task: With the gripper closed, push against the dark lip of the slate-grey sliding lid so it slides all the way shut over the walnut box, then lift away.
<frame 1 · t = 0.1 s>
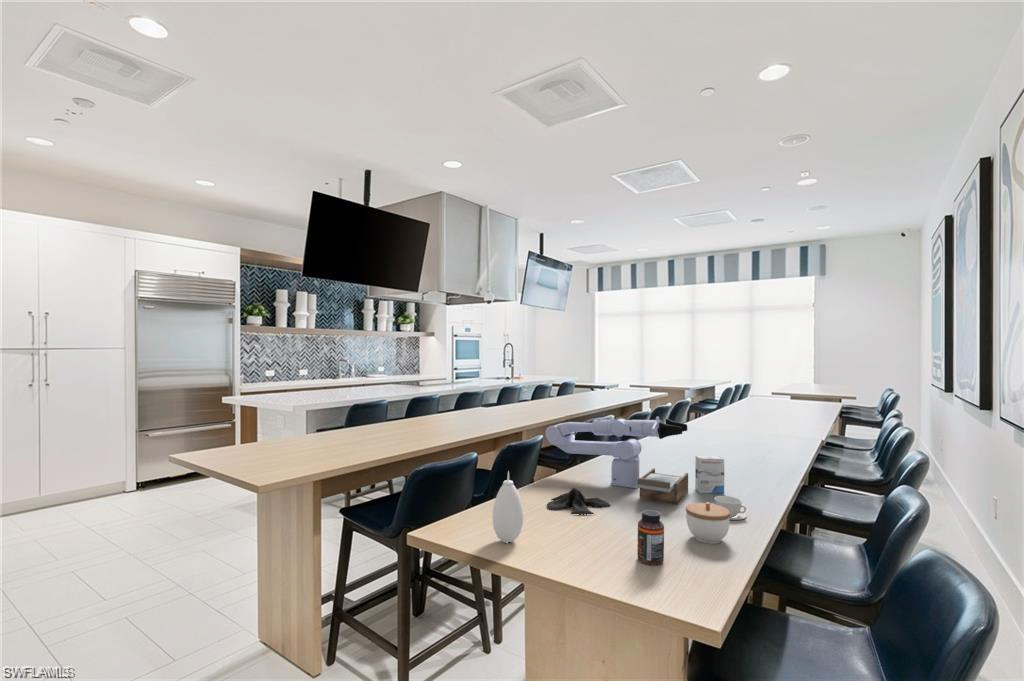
hand: (684, 429, 171), 22 cm above the table, tool horizontal, fingers open, 7 cm apart
lidded jar: (707, 539, 131), on the table
teacup: (728, 516, 150), on the table
cloth: (572, 507, 158), on the table
supplement bottle: (650, 561, 118), on the table
air blower bulb: (507, 542, 128), on the table
walnut box: (664, 495, 168), on the table
ink box: (709, 492, 173), on the table
lid: (659, 479, 163), point 7 cm above the table, slide at 6.0 cm
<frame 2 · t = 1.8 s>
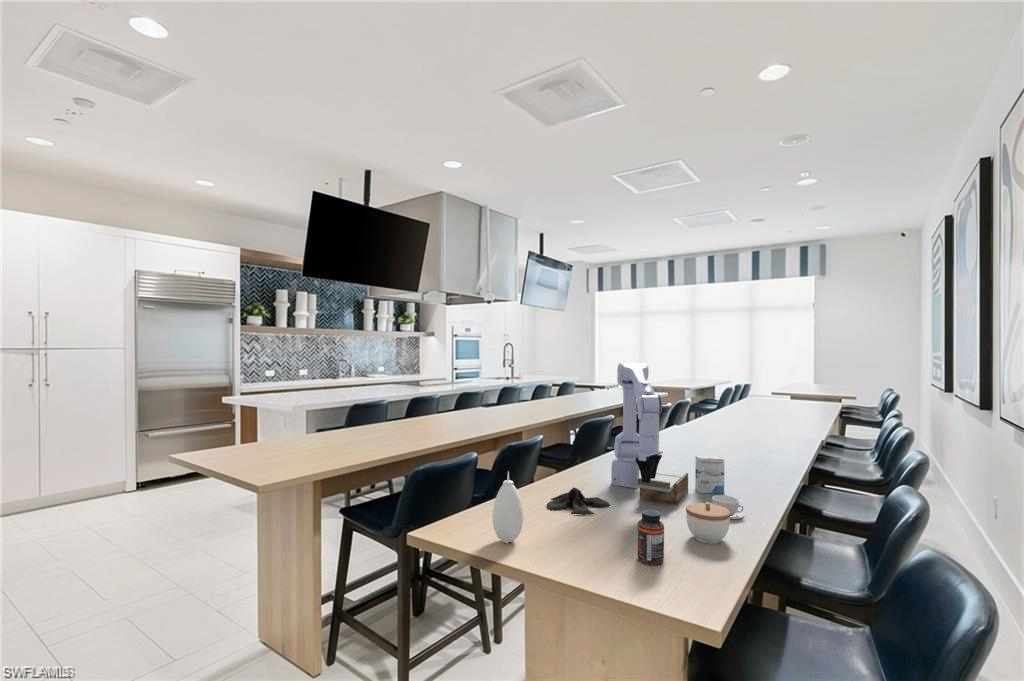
hand: (648, 480, 152), 9 cm above the table, tool pointing down, fingers open, 5 cm apart
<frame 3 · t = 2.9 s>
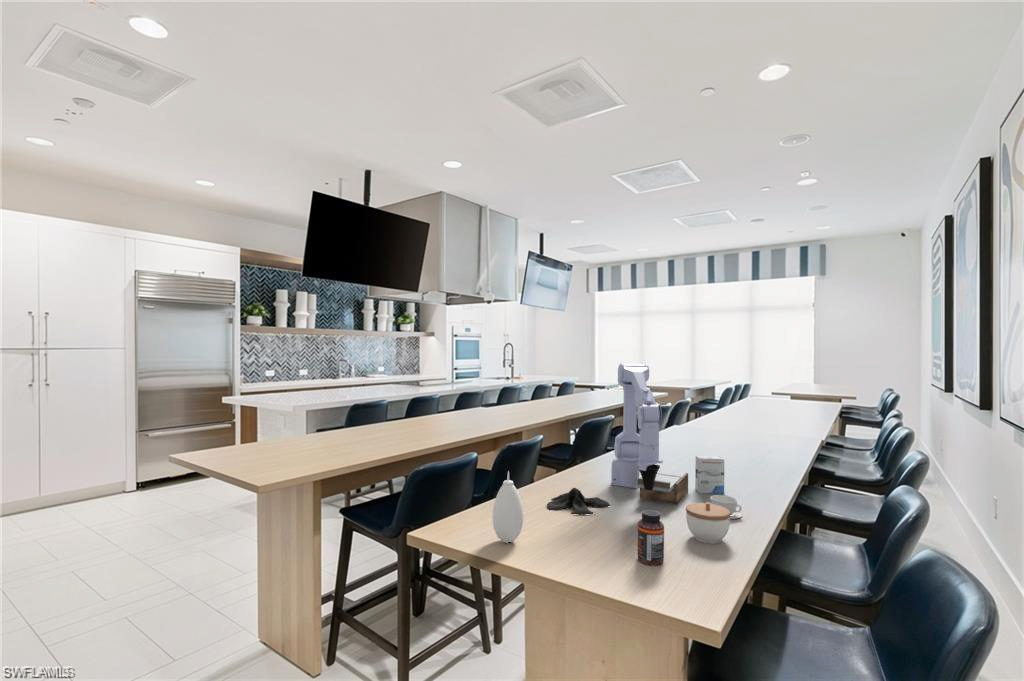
hand: (648, 489, 152), 7 cm above the table, tool pointing down, fingers closed
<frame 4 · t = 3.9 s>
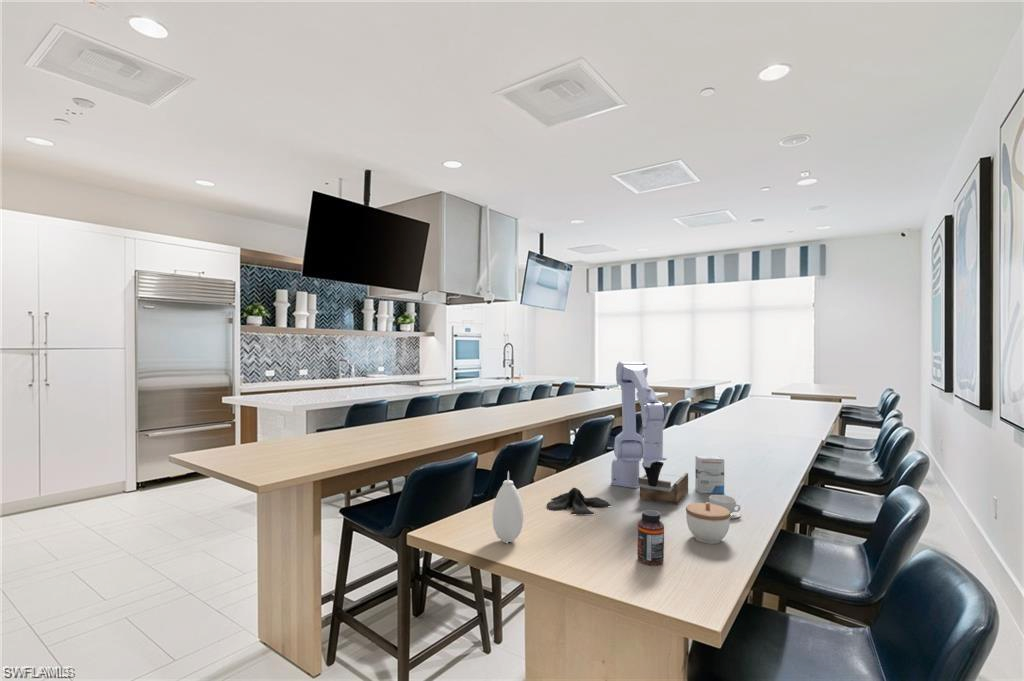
hand: (652, 485, 156), 7 cm above the table, tool pointing down, fingers closed
lid: (660, 478, 164), point 7 cm above the table, slide at 5.2 cm, touching gripper
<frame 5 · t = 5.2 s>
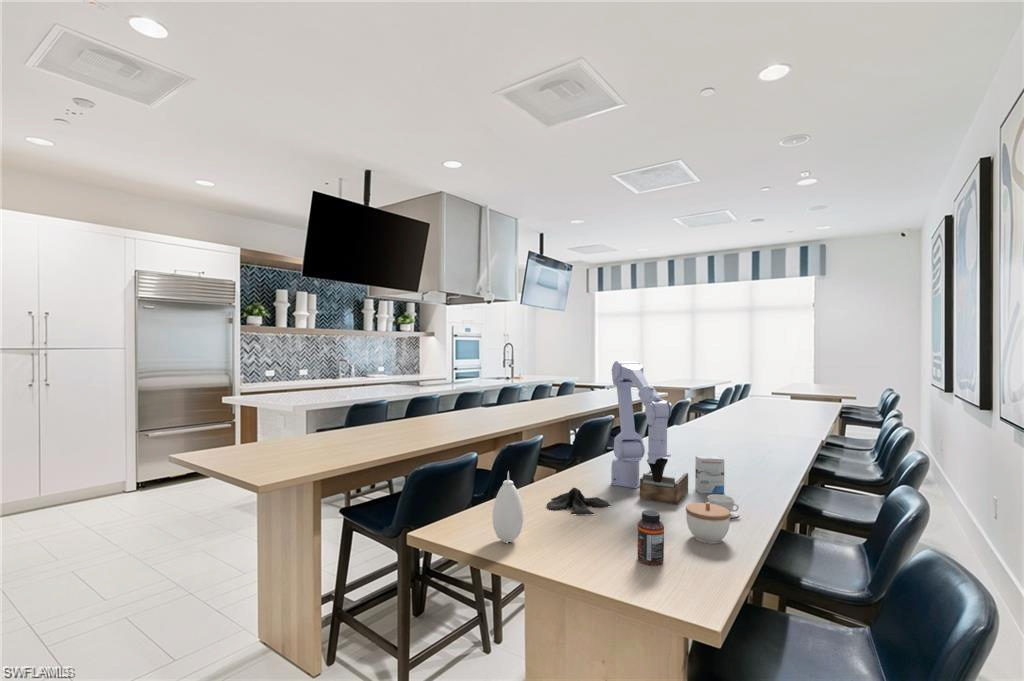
hand: (657, 481, 160), 7 cm above the table, tool pointing down, fingers closed
lid: (664, 475, 168), point 7 cm above the table, slide at 0.0 cm, touching gripper
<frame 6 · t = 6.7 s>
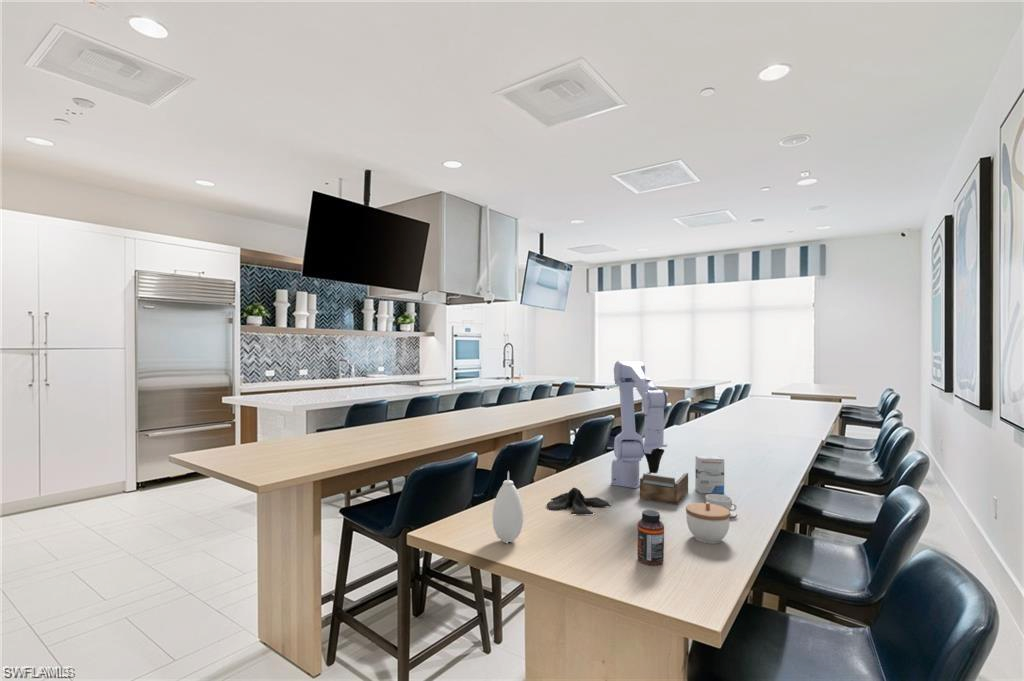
hand: (653, 472, 157), 10 cm above the table, tool pointing down, fingers closed
lid: (664, 475, 168), point 7 cm above the table, slide at 0.0 cm
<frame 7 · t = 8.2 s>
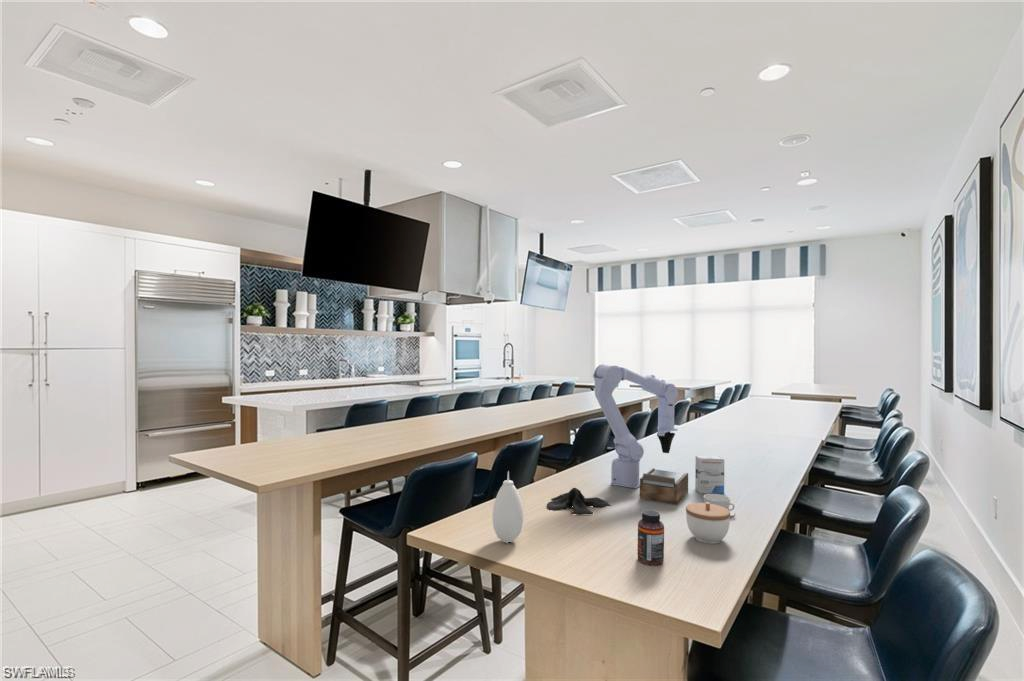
hand: (665, 452, 186), 10 cm above the table, tool pointing down, fingers closed
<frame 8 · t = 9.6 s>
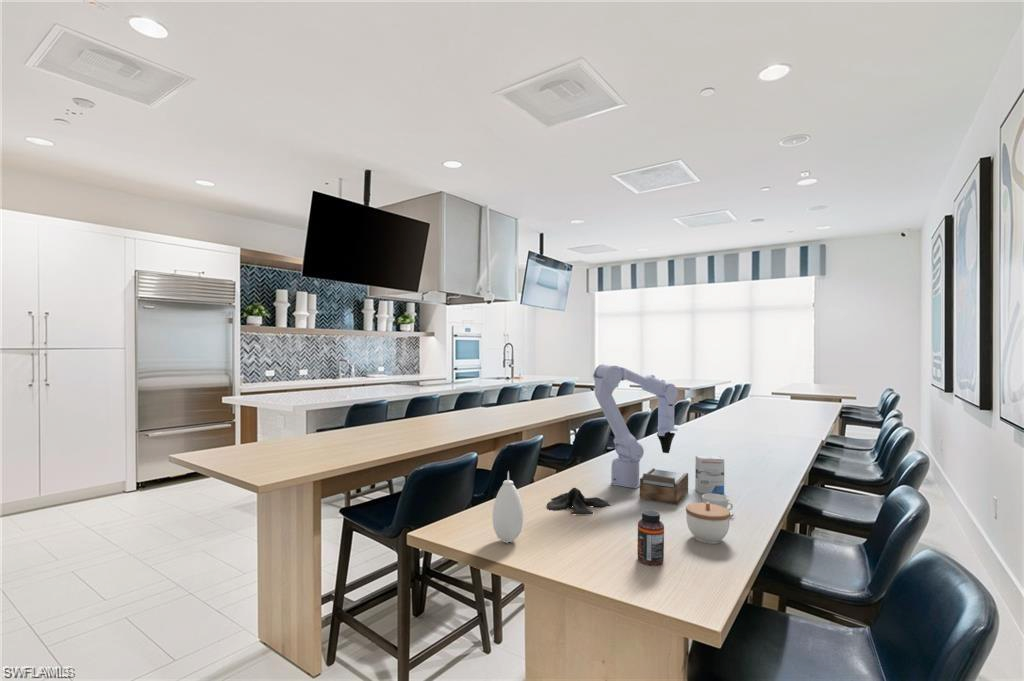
hand: (665, 452, 186), 10 cm above the table, tool pointing down, fingers closed
at the end: lid slide at 0.0 cm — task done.
